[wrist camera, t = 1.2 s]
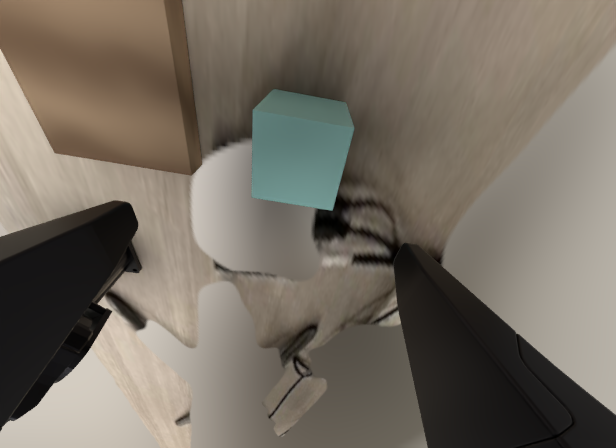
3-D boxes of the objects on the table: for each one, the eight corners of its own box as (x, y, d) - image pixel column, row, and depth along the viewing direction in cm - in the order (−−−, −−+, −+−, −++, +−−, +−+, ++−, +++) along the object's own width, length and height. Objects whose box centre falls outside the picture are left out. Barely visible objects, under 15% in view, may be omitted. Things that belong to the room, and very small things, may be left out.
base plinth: (202, 164, 20) (191, 175, 18) (76, 143, 19) (54, 153, 18) (175, -50, 12) (153, -63, 11) (-30, -94, 12) (-84, -114, 10)
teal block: (330, 168, 20) (332, 210, 15) (269, 158, 19) (251, 197, 15) (345, 102, 16) (354, 128, 12) (273, 88, 16) (252, 109, 11)
